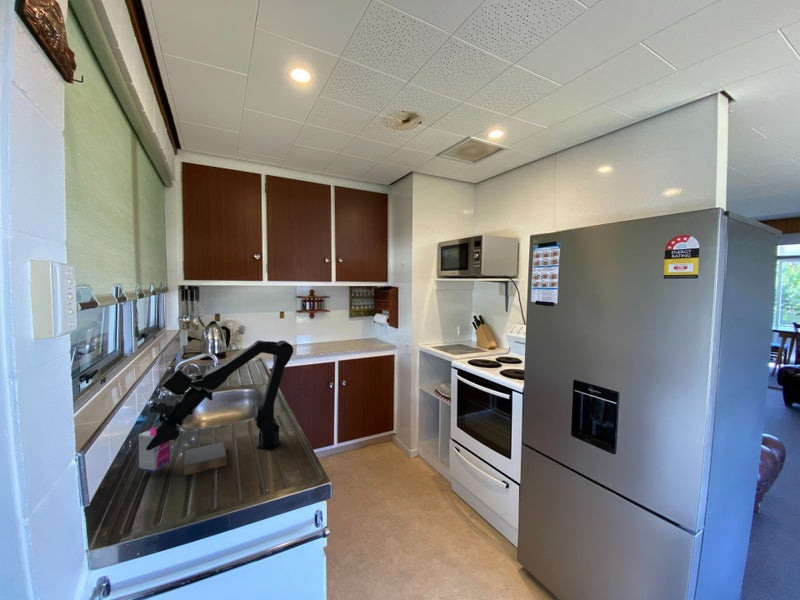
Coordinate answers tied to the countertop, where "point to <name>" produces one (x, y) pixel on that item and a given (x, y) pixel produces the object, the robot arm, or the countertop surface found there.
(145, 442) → the supplement box
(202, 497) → the countertop surface
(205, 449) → the walnut base
